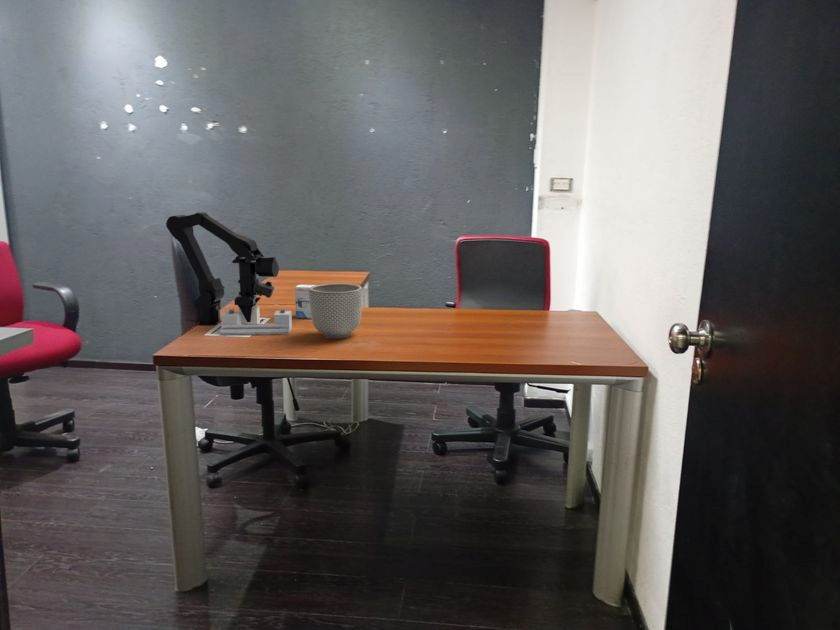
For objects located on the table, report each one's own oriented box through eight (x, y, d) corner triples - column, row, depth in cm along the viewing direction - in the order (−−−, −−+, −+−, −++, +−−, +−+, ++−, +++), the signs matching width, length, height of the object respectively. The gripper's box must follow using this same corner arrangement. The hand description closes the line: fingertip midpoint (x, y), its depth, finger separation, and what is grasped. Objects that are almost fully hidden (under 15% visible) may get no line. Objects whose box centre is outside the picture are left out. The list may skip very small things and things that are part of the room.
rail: (220, 335, 202) (219, 326, 202) (222, 333, 205) (222, 324, 205) (288, 334, 204) (288, 325, 203) (289, 332, 207) (289, 323, 206)
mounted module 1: (222, 333, 205) (221, 312, 204) (226, 328, 211) (225, 308, 209) (237, 332, 206) (236, 312, 204) (241, 328, 211) (240, 308, 210)
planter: (318, 345, 191) (317, 294, 188) (304, 332, 207) (302, 285, 203) (371, 339, 199) (370, 290, 195) (353, 327, 214) (352, 281, 210)
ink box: (295, 318, 227) (294, 286, 224) (299, 315, 232) (298, 284, 229) (318, 319, 226) (317, 287, 224) (321, 315, 231) (320, 284, 228)
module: (239, 325, 214) (238, 306, 212) (242, 322, 219) (241, 303, 217) (257, 325, 214) (256, 306, 213) (259, 322, 219) (259, 303, 217)
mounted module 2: (274, 332, 206) (273, 311, 205) (277, 328, 212) (276, 308, 211) (289, 332, 207) (288, 311, 205) (291, 327, 213) (291, 307, 211)
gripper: (267, 280, 204) (269, 326, 208) (275, 271, 222) (277, 314, 226) (232, 280, 203) (235, 326, 207) (244, 272, 221) (246, 314, 225)
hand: (250, 320), depth 216 cm, fingers closed on module, 5 cm apart
